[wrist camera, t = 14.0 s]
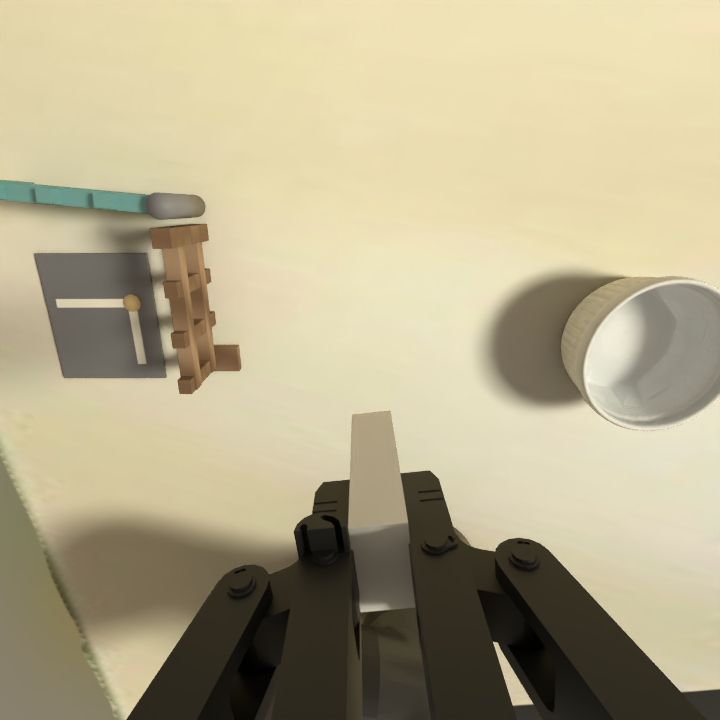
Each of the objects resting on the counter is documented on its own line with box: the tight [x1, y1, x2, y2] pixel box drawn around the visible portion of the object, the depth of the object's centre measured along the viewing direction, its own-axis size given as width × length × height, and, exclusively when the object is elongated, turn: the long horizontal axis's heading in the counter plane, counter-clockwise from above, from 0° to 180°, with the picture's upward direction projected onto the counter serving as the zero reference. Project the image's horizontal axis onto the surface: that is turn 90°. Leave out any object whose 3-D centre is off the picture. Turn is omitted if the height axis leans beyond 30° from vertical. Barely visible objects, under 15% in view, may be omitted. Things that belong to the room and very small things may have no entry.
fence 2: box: [150, 224, 241, 394], centre depth 38 cm, size 14×5×8 cm, turn 0°
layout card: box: [35, 253, 167, 378], centre depth 42 cm, size 12×10×1 cm
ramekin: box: [561, 276, 720, 431], centre depth 39 cm, size 13×13×7 cm
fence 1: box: [0, 180, 205, 219], centre depth 34 cm, size 16×2×8 cm, turn 85°
